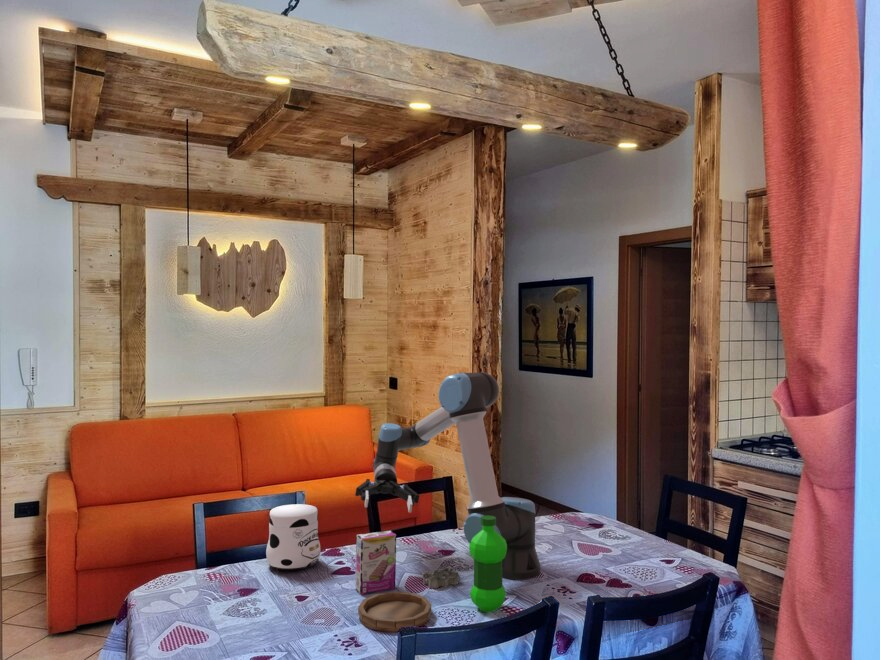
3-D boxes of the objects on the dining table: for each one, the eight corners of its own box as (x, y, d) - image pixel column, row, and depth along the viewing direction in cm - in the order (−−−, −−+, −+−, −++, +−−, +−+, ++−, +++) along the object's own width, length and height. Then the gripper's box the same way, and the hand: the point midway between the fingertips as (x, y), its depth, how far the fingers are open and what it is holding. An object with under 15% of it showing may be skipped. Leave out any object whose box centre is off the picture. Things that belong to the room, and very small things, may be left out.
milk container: (321, 572, 211) (321, 515, 211) (265, 576, 208) (265, 518, 208) (319, 554, 228) (319, 502, 228) (267, 558, 225) (267, 504, 225)
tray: (436, 604, 187) (436, 594, 187) (422, 635, 168) (422, 623, 168) (370, 599, 190) (370, 589, 190) (349, 628, 171) (350, 617, 171)
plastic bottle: (479, 597, 192) (479, 510, 192) (513, 605, 186) (513, 516, 186) (462, 610, 183) (463, 519, 183) (497, 618, 178) (497, 524, 178)
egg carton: (430, 590, 198) (430, 577, 198) (419, 582, 204) (419, 568, 204) (462, 584, 202) (462, 571, 202) (450, 576, 209) (450, 563, 209)
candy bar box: (360, 596, 193) (361, 539, 193) (355, 589, 197) (355, 534, 197) (396, 589, 198) (396, 534, 198) (390, 583, 202) (390, 529, 202)
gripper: (420, 493, 227) (426, 521, 207) (346, 485, 224) (346, 512, 203) (423, 472, 226) (430, 499, 206) (350, 463, 223) (350, 489, 202)
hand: (388, 505), depth 204 cm, fingers open, 13 cm apart
